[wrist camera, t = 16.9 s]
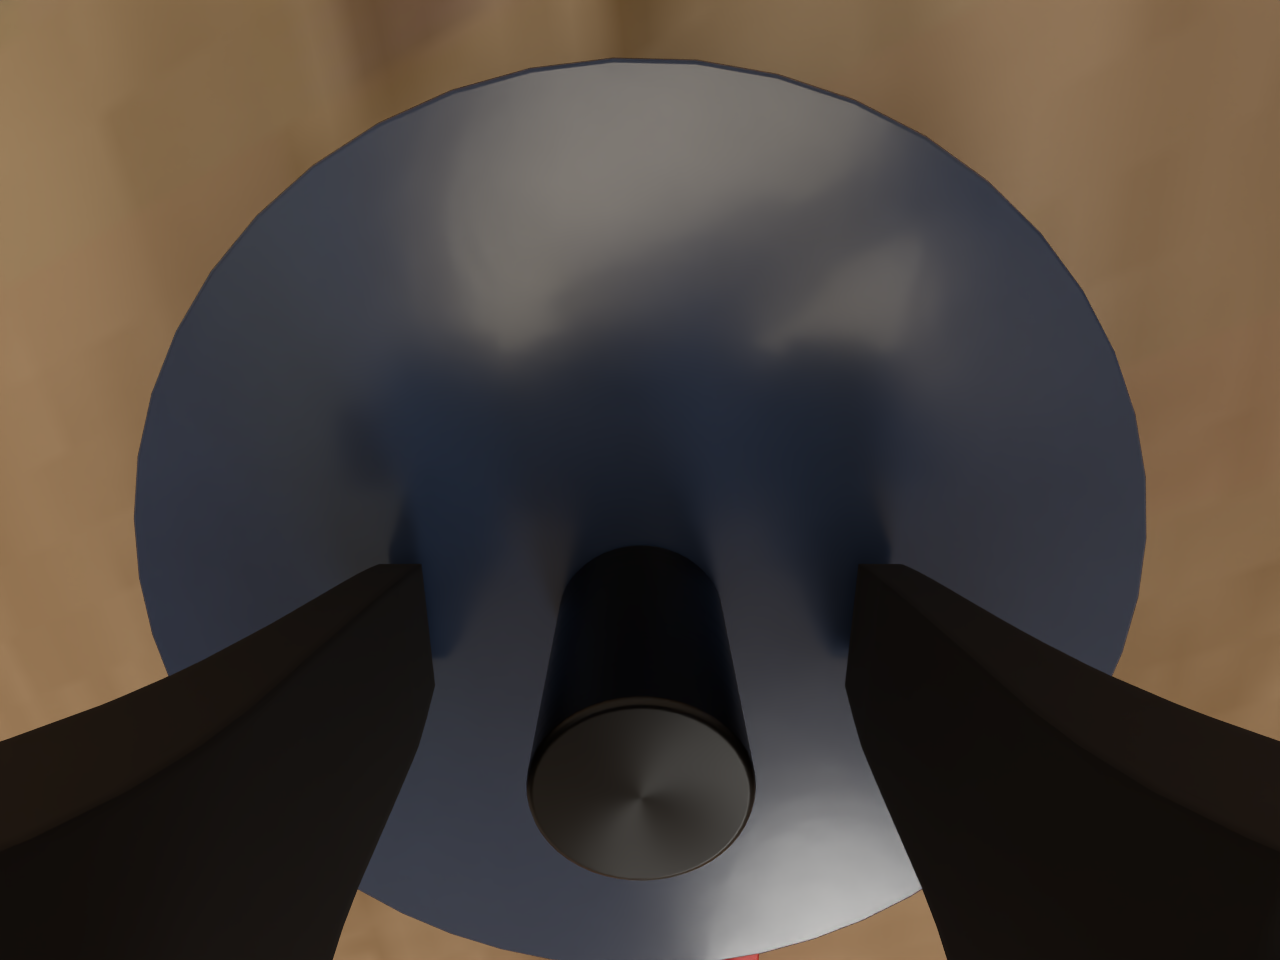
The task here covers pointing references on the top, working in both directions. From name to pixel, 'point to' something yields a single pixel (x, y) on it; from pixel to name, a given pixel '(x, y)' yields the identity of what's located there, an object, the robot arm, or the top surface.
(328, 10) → the top surface
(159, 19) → the top surface
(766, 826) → the lid
